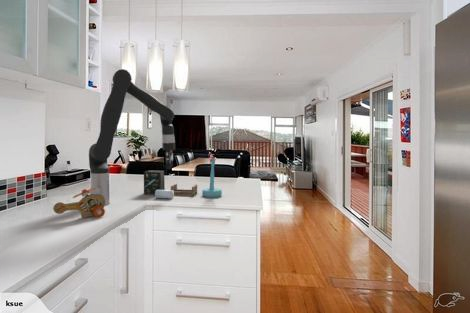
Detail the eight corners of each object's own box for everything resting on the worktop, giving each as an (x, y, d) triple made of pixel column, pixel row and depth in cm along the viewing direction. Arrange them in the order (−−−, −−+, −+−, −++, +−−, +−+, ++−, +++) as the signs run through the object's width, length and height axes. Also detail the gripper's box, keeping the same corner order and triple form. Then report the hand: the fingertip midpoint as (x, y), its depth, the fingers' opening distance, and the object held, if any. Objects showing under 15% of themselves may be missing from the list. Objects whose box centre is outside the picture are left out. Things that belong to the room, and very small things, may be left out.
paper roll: (174, 198, 176) (174, 190, 176) (171, 199, 171) (171, 190, 171) (157, 197, 177) (157, 189, 177) (154, 198, 172) (154, 189, 172)
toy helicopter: (107, 216, 133) (107, 187, 132) (55, 224, 119) (54, 192, 119) (102, 212, 139) (102, 184, 138) (52, 220, 126) (51, 189, 125)
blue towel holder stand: (225, 195, 184) (226, 157, 183) (211, 198, 175) (212, 158, 174) (212, 193, 193) (212, 156, 191) (198, 195, 184) (198, 156, 182)
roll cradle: (193, 196, 181) (193, 186, 181) (170, 195, 182) (170, 186, 182) (197, 193, 191) (197, 184, 191) (175, 192, 192) (175, 183, 192)
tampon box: (164, 192, 194) (164, 170, 193) (159, 194, 184) (159, 172, 184) (149, 191, 195) (149, 170, 194) (143, 194, 186) (143, 171, 185)
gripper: (164, 141, 181) (165, 167, 183) (160, 142, 167) (161, 170, 169) (176, 141, 182) (177, 166, 183) (173, 142, 168) (174, 169, 169)
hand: (169, 168), depth 176 cm, fingers open, 8 cm apart
